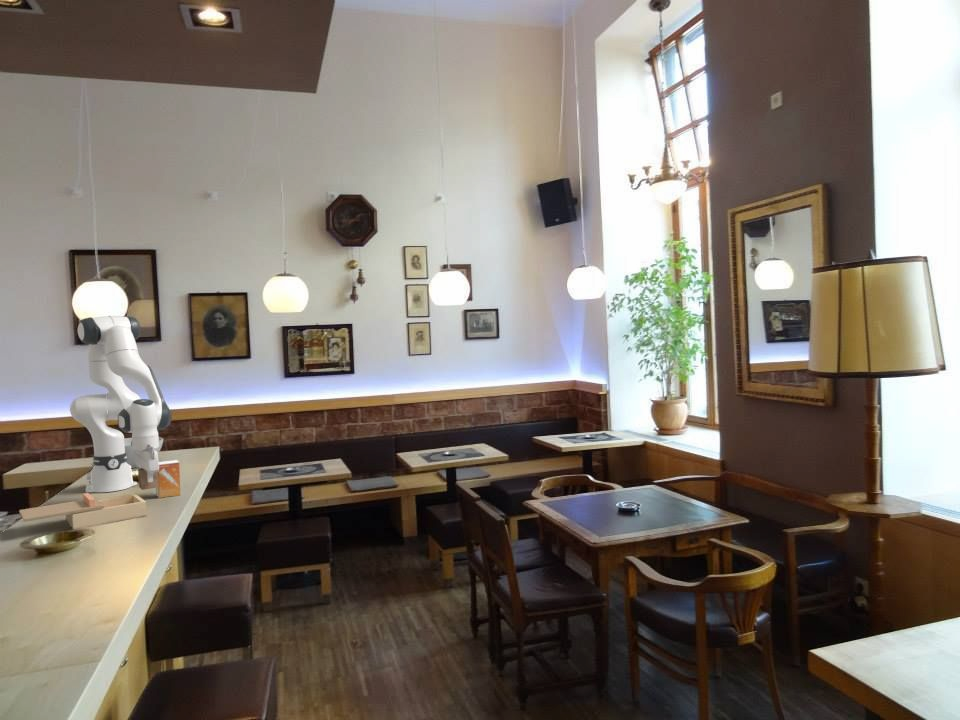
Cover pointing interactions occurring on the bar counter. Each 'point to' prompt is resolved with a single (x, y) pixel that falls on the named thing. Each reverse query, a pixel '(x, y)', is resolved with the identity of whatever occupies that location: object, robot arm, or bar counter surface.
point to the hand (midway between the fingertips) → (147, 480)
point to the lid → (61, 508)
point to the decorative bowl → (131, 455)
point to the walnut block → (143, 480)
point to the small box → (168, 479)
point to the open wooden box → (110, 512)
